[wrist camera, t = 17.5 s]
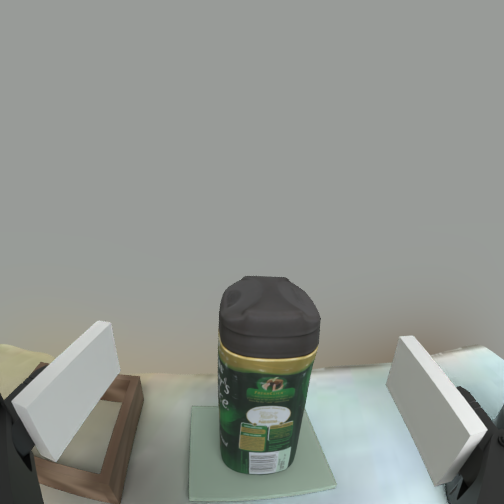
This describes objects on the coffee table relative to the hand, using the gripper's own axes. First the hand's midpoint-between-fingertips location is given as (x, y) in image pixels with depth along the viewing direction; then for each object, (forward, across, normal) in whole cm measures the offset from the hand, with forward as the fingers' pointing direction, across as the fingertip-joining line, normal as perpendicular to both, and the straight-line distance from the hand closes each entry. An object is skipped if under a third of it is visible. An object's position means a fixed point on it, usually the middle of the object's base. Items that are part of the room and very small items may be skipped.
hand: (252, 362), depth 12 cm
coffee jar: (+11, 0, -19) cm, 22 cm away
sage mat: (+11, 0, -20) cm, 23 cm away
